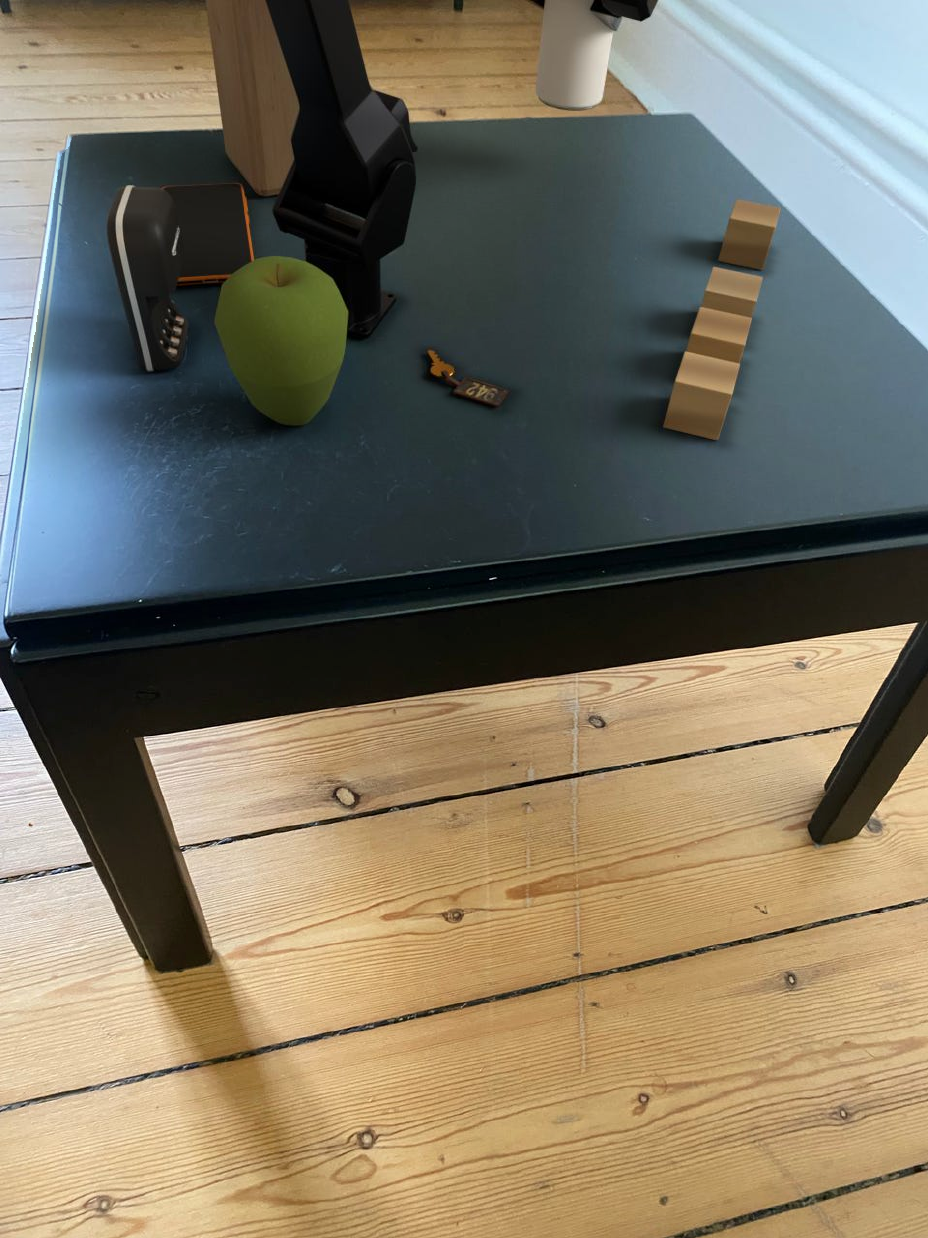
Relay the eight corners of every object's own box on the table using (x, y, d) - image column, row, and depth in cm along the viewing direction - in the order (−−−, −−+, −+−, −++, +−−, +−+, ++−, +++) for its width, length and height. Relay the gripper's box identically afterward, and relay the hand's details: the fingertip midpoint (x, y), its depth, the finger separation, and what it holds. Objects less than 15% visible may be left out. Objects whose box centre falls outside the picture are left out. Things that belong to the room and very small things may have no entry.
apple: (218, 393, 69) (191, 240, 60) (329, 371, 71) (320, 221, 63) (250, 466, 64) (226, 311, 55) (369, 439, 66) (364, 286, 57)
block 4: (717, 441, 68) (732, 394, 65) (662, 427, 69) (674, 380, 66) (725, 409, 71) (740, 363, 68) (672, 397, 71) (685, 350, 68)
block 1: (762, 270, 85) (775, 227, 82) (717, 261, 85) (729, 217, 82) (767, 250, 87) (781, 207, 84) (724, 241, 88) (736, 198, 85)
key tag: (514, 394, 70) (515, 388, 70) (490, 413, 69) (490, 406, 68) (430, 351, 73) (430, 344, 73) (404, 367, 72) (404, 360, 71)
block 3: (730, 391, 72) (745, 344, 69) (678, 379, 73) (690, 332, 70) (738, 363, 75) (752, 317, 72) (687, 351, 75) (699, 305, 72)
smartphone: (164, 288, 77) (162, 278, 77) (161, 194, 88) (160, 185, 87) (258, 281, 79) (257, 272, 78) (244, 190, 89) (243, 181, 89)
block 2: (742, 346, 76) (756, 301, 73) (693, 335, 77) (705, 290, 74) (749, 321, 79) (762, 276, 76) (701, 310, 80) (713, 266, 77)
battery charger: (191, 375, 70) (162, 225, 61) (138, 375, 70) (101, 224, 61) (201, 323, 75) (175, 176, 66) (151, 323, 74) (119, 175, 66)
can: (564, 80, 94) (583, -65, 85) (615, 101, 91) (640, -47, 82) (520, 95, 91) (535, -55, 82) (572, 117, 88) (593, -36, 79)
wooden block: (224, 158, 94) (190, -89, 79) (319, 143, 97) (304, -97, 82) (258, 202, 88) (229, -55, 73) (357, 184, 92) (349, -65, 76)
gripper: (698, -201, 68) (721, -48, 83) (481, -239, 75) (538, -91, 89) (627, -49, 70) (661, 75, 84) (420, -99, 76) (485, 25, 90)
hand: (585, 16), depth 87 cm, fingers closed on can, 6 cm apart
